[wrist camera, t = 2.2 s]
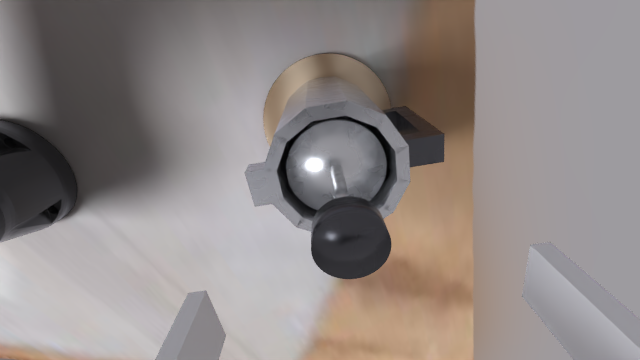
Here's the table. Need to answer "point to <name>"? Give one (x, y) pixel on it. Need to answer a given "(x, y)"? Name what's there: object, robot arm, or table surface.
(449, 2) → the table surface
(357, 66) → the trivet
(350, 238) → the plunger
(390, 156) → the carafe
